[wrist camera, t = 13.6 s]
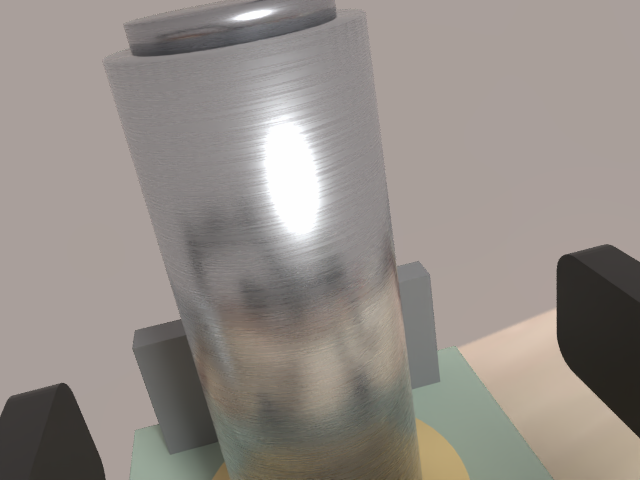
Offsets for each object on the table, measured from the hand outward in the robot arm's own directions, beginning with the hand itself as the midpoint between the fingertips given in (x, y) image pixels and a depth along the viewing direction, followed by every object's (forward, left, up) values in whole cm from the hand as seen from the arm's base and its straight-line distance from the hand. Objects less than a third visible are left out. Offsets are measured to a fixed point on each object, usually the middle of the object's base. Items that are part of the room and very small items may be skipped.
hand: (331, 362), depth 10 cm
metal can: (0, +6, -9) cm, 11 cm away
